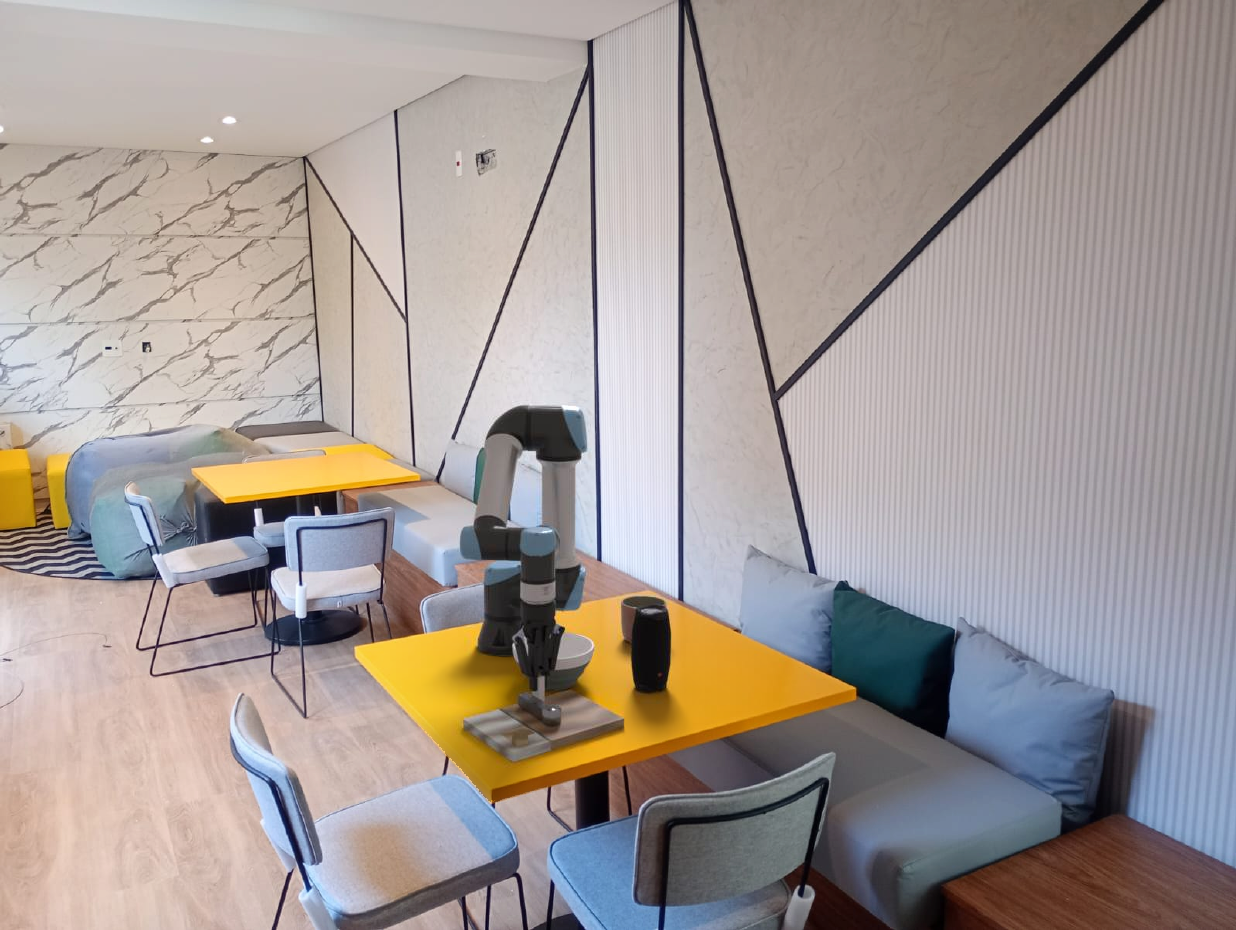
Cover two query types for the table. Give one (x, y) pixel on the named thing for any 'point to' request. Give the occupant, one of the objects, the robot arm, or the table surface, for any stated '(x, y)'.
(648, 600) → the planter
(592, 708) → the board
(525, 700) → the door lever handle
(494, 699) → the table surface
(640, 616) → the portable speaker
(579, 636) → the bowl
